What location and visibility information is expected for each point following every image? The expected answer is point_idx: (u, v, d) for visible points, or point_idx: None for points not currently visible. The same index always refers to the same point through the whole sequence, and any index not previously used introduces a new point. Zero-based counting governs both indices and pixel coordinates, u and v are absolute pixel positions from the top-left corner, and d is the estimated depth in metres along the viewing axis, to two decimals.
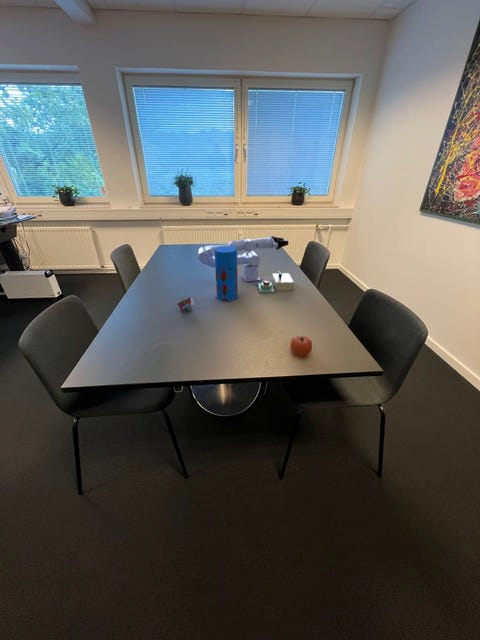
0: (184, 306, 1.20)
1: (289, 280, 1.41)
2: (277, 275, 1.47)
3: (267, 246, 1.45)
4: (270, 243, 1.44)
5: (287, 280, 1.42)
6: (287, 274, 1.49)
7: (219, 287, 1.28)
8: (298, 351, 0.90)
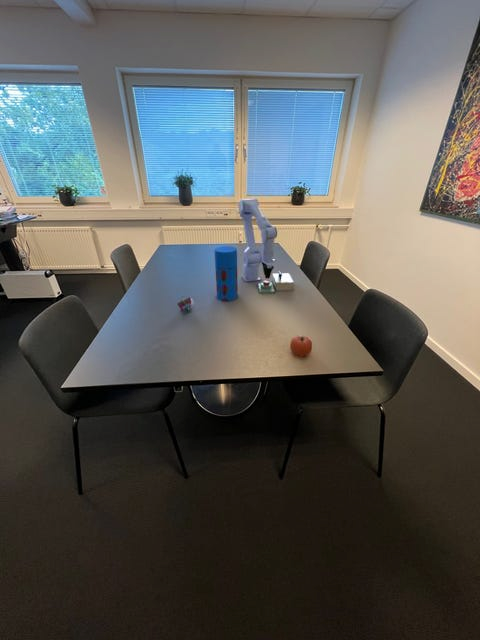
0: (184, 306, 1.20)
1: (289, 280, 1.41)
2: (277, 275, 1.47)
3: (265, 256, 1.31)
4: (269, 259, 1.32)
5: (287, 280, 1.42)
6: (287, 274, 1.49)
7: (219, 287, 1.28)
8: (298, 351, 0.90)
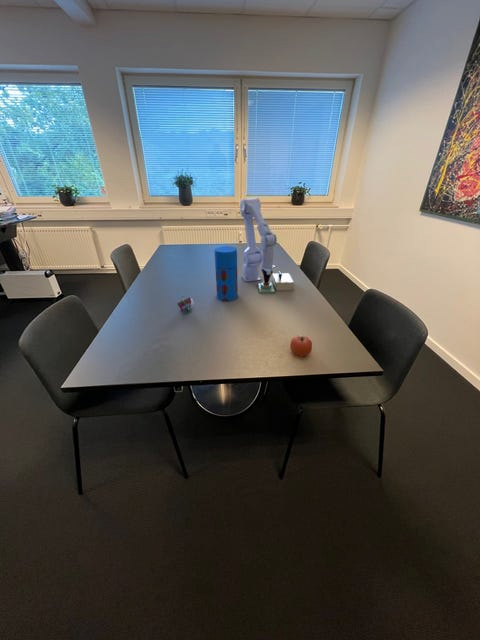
0: (184, 306, 1.20)
1: (289, 280, 1.41)
2: (277, 275, 1.47)
3: (265, 263, 1.33)
4: (268, 266, 1.34)
5: (287, 280, 1.42)
6: (287, 274, 1.49)
7: (219, 287, 1.28)
8: (298, 351, 0.90)
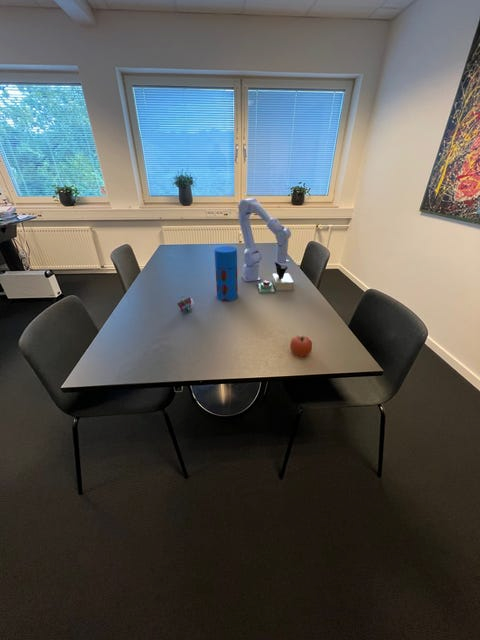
0: (184, 306, 1.20)
1: (289, 280, 1.41)
2: (277, 275, 1.47)
3: (280, 257, 1.36)
4: (282, 260, 1.36)
5: (287, 280, 1.42)
6: (287, 274, 1.49)
7: (219, 287, 1.28)
8: (298, 351, 0.90)
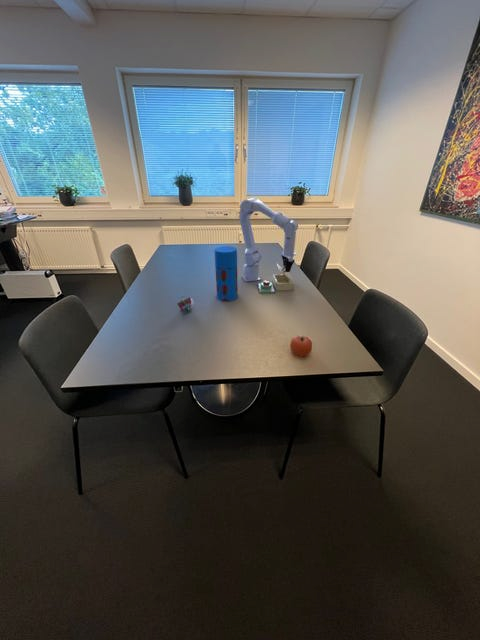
0: (184, 306, 1.20)
1: (290, 278, 1.41)
2: (281, 267, 1.45)
3: (287, 250, 1.34)
4: (290, 253, 1.35)
5: (289, 277, 1.41)
6: (288, 273, 1.48)
7: (219, 287, 1.28)
8: (298, 351, 0.90)
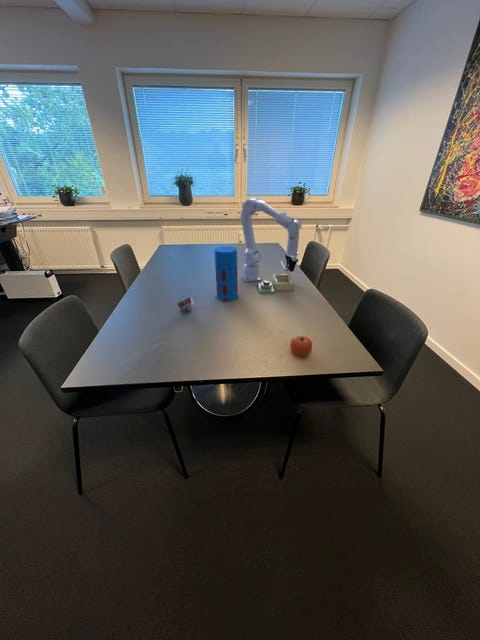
0: (184, 306, 1.20)
1: None
2: None
3: (290, 249, 1.34)
4: (293, 253, 1.35)
5: None
6: (288, 273, 1.48)
7: (219, 287, 1.28)
8: (298, 351, 0.90)
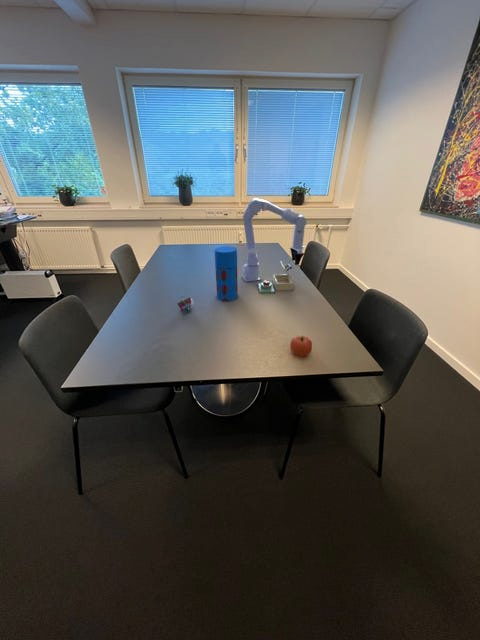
0: (184, 306, 1.20)
1: (291, 278, 1.40)
2: (283, 265, 1.45)
3: (296, 243, 1.41)
4: (299, 246, 1.42)
5: None
6: (288, 273, 1.48)
7: (219, 287, 1.28)
8: (298, 351, 0.90)
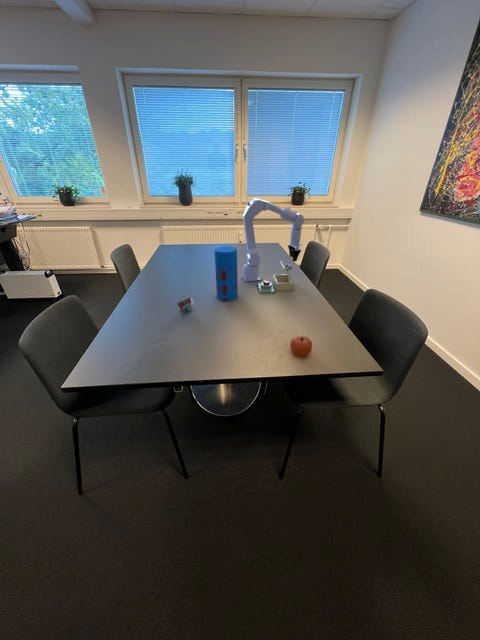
0: (184, 306, 1.20)
1: (291, 278, 1.40)
2: (283, 265, 1.45)
3: (293, 240, 1.46)
4: (296, 243, 1.47)
5: None
6: (288, 273, 1.48)
7: (219, 287, 1.28)
8: (298, 351, 0.90)
